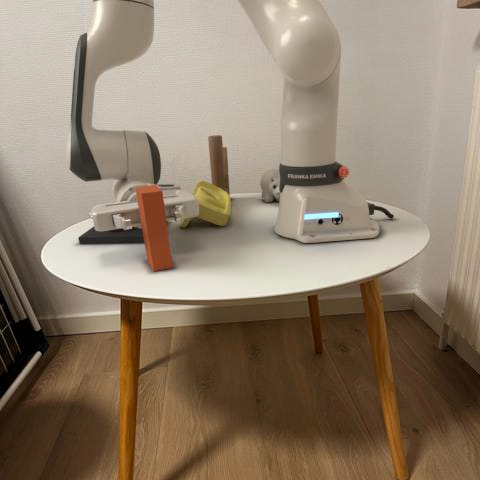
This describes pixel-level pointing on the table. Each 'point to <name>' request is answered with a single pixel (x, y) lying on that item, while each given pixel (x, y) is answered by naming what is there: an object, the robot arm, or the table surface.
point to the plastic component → (211, 204)
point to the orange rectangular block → (154, 227)
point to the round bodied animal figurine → (270, 185)
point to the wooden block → (218, 163)
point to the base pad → (112, 236)
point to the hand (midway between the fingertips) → (154, 221)
